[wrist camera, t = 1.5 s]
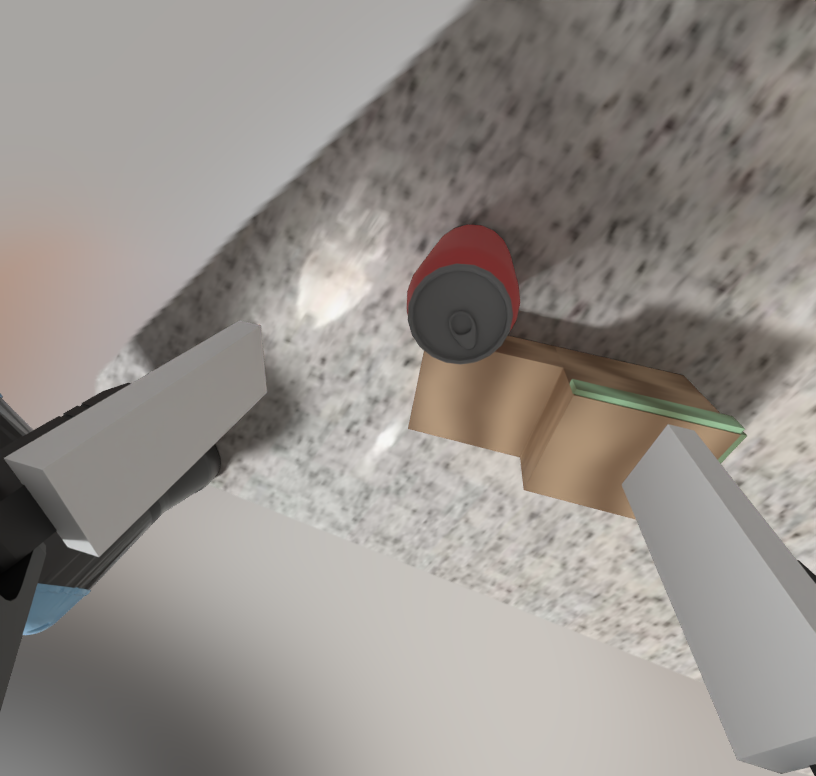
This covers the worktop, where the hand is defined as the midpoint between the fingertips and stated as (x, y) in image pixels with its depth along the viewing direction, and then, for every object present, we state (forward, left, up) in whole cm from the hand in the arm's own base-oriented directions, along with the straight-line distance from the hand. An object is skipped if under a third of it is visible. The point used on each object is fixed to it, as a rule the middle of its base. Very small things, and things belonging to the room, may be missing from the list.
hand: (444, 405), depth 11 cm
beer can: (0, 0, -20) cm, 20 cm away
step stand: (+9, -10, -20) cm, 24 cm away
